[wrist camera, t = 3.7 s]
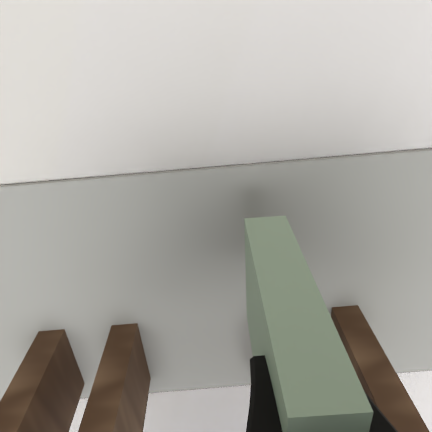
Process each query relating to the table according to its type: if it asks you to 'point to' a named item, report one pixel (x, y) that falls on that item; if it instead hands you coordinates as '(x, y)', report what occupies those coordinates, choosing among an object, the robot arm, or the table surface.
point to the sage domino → (298, 336)
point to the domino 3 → (376, 370)
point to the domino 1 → (43, 387)
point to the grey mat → (213, 260)
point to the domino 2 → (119, 384)
